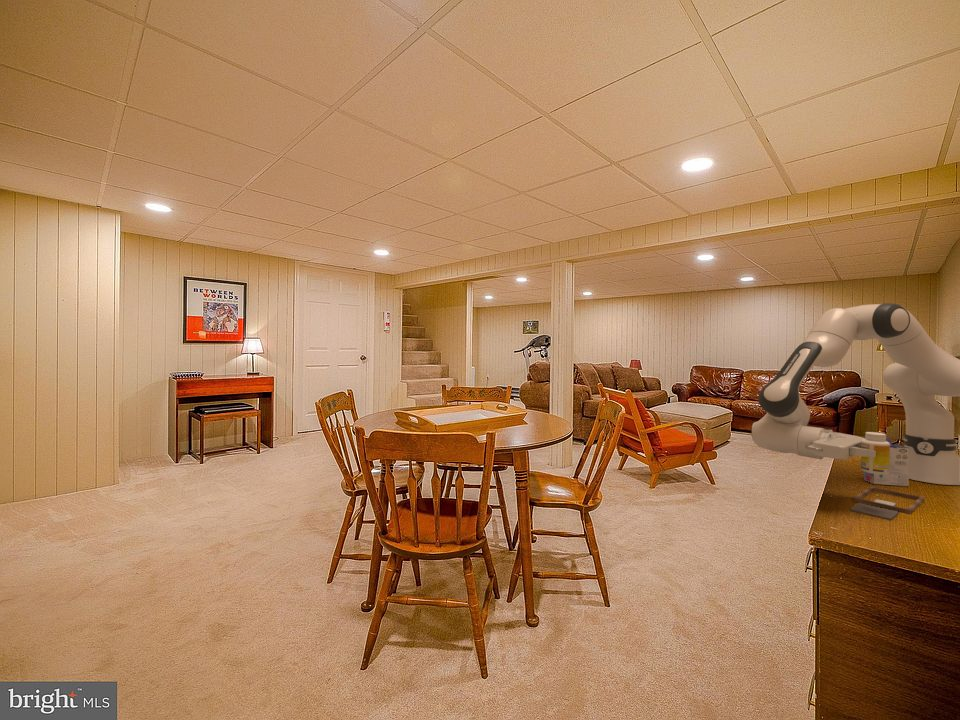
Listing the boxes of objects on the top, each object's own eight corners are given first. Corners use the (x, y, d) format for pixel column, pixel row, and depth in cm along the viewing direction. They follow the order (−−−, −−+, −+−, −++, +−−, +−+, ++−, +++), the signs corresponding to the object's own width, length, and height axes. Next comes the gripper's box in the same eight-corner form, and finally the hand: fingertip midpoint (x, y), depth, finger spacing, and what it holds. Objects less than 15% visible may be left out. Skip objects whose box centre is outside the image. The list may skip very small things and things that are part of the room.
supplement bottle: (893, 473, 112) (894, 434, 112) (883, 476, 109) (884, 436, 109) (866, 468, 117) (867, 430, 117) (856, 470, 114) (857, 432, 114)
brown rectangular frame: (870, 489, 131) (870, 486, 131) (924, 500, 122) (924, 497, 122) (852, 501, 121) (852, 497, 121) (910, 514, 112) (910, 510, 112)
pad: (859, 504, 119) (859, 502, 119) (898, 513, 112) (899, 511, 112) (850, 510, 114) (850, 508, 114) (891, 520, 108) (891, 518, 108)
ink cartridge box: (897, 481, 140) (898, 437, 140) (910, 486, 135) (911, 440, 135) (861, 479, 142) (862, 435, 142) (873, 484, 137) (874, 439, 137)
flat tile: (876, 502, 122) (876, 499, 122) (895, 506, 119) (895, 503, 119) (873, 505, 119) (873, 502, 119) (892, 509, 116) (892, 506, 116)
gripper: (801, 435, 117) (868, 444, 106) (827, 428, 129) (890, 436, 118) (801, 458, 117) (868, 470, 106) (827, 449, 129) (889, 459, 118)
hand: (879, 452), depth 112 cm, fingers closed on supplement bottle, 5 cm apart
